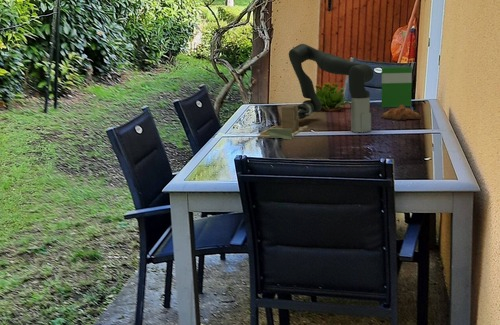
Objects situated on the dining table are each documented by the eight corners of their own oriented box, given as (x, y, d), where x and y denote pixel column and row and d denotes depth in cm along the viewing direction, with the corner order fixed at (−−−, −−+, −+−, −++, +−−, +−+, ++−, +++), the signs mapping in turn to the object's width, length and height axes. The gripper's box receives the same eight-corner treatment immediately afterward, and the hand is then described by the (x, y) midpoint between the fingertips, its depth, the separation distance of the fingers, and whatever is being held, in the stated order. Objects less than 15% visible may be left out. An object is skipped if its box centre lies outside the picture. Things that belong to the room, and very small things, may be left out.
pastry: (393, 122, 326) (393, 108, 324) (380, 118, 340) (380, 104, 338) (421, 119, 330) (421, 105, 328) (407, 115, 344) (407, 101, 342)
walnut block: (287, 129, 315) (286, 104, 312) (298, 129, 313) (297, 104, 310) (282, 132, 308) (281, 107, 305) (293, 132, 306) (292, 107, 303)
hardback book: (411, 105, 377) (411, 66, 372) (411, 107, 370) (411, 67, 365) (382, 105, 382) (382, 67, 376) (381, 107, 375) (381, 68, 369)
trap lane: (276, 127, 326) (275, 118, 325) (308, 128, 319) (307, 119, 318) (257, 138, 302) (256, 128, 301) (291, 139, 295) (291, 129, 294)
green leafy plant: (352, 106, 385) (352, 78, 381) (354, 112, 362) (354, 83, 358) (312, 107, 388) (312, 80, 384) (312, 113, 365) (312, 84, 361)
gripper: (314, 117, 326) (304, 123, 311) (291, 117, 331) (280, 123, 316) (314, 103, 324) (304, 109, 309) (291, 103, 330) (280, 108, 314)
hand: (292, 116), depth 312 cm, fingers closed
